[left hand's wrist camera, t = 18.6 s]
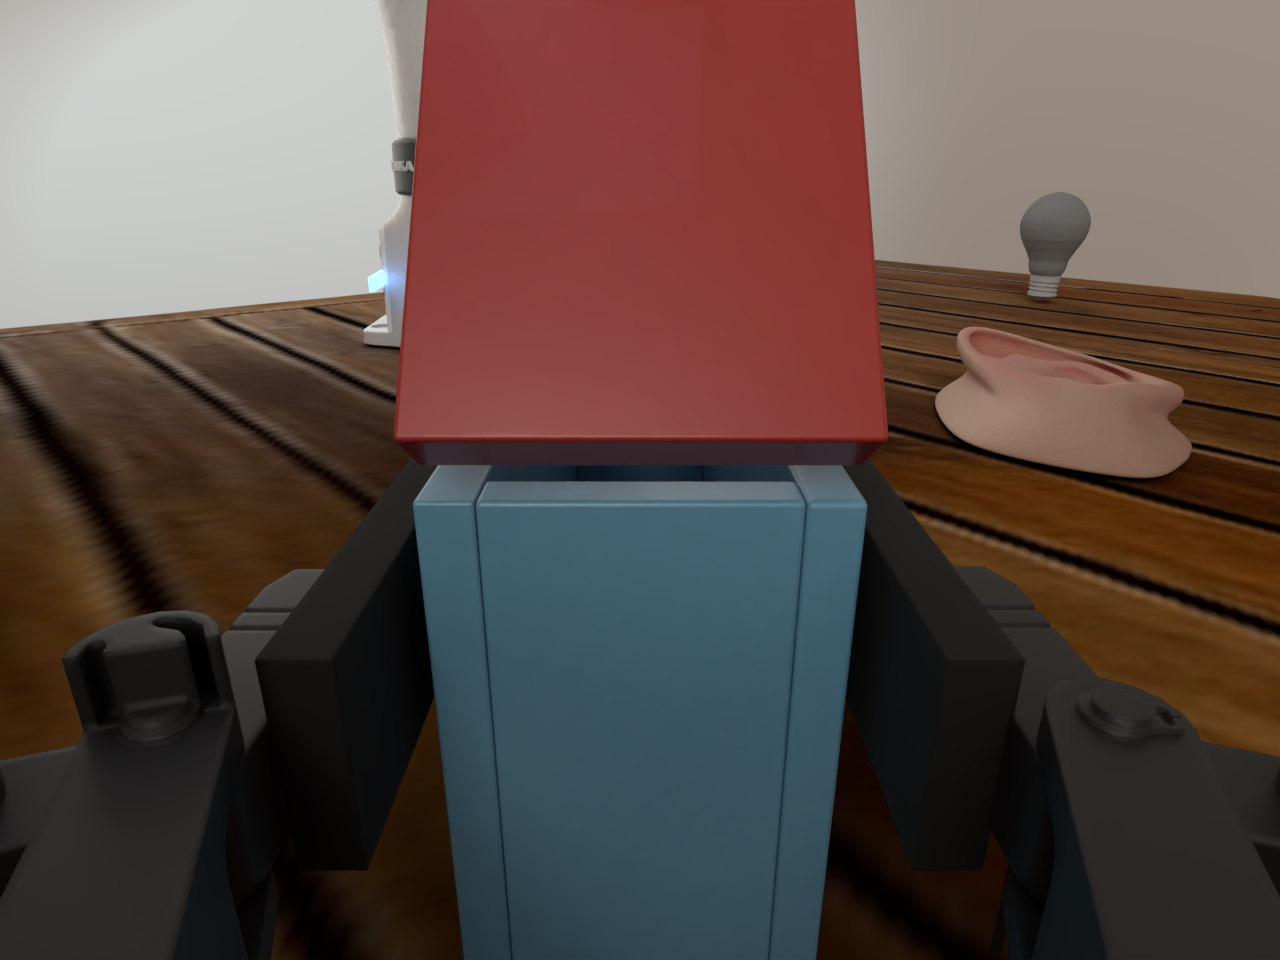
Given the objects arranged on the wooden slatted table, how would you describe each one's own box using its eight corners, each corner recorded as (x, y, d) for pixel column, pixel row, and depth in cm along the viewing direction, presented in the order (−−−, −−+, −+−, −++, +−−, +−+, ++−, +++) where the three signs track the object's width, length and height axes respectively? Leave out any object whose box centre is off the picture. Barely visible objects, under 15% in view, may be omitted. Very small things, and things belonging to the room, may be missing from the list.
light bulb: (1021, 304, 77) (1040, 193, 73) (999, 294, 82) (1016, 191, 79) (1086, 304, 76) (1108, 193, 73) (1059, 295, 82) (1079, 191, 78)
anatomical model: (1252, 396, 31) (942, 372, 35) (1225, 490, 33) (930, 457, 37) (1172, 334, 43) (945, 321, 47) (1154, 405, 45) (936, 387, 48)
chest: (560, 570, 27) (549, 297, 24) (720, 570, 27) (731, 297, 24) (470, 1027, 13) (410, 502, 9) (810, 1027, 13) (870, 502, 9)
